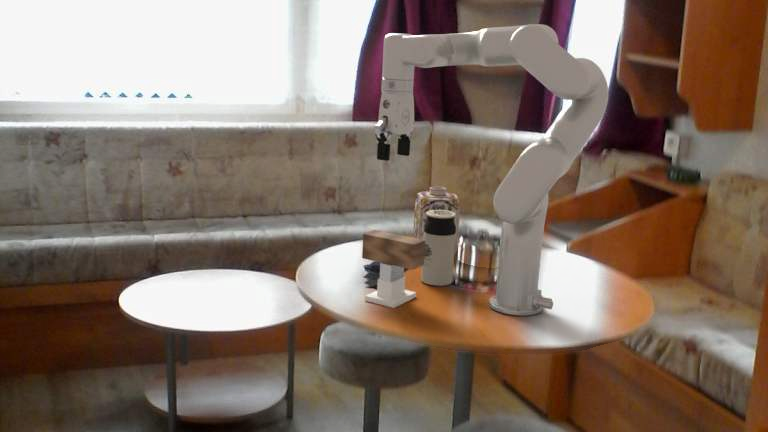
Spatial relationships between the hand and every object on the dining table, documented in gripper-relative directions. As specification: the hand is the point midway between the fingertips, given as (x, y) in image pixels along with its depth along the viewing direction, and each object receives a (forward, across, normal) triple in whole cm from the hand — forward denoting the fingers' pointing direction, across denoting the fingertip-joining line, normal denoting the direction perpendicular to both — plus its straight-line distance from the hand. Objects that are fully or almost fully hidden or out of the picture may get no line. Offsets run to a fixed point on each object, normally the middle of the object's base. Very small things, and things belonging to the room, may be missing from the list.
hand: (393, 157), depth 211 cm
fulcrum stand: (+32, -10, -7) cm, 34 cm away
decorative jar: (+32, +38, +6) cm, 50 cm away
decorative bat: (+32, +4, +4) cm, 33 cm away
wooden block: (+23, -10, -7) cm, 26 cm away
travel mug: (+32, +9, -9) cm, 35 cm away
